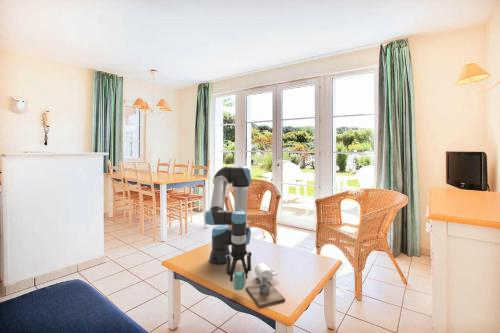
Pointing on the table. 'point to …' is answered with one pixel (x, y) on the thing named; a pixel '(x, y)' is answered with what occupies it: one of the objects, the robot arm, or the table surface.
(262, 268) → the mug
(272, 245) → the table surface
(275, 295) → the stud board
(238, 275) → the cap
